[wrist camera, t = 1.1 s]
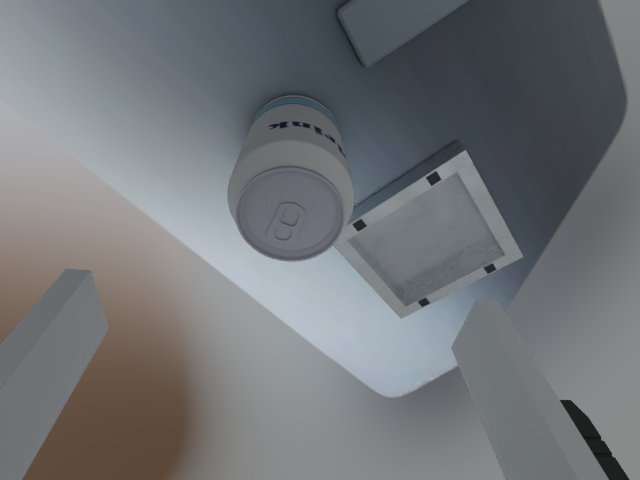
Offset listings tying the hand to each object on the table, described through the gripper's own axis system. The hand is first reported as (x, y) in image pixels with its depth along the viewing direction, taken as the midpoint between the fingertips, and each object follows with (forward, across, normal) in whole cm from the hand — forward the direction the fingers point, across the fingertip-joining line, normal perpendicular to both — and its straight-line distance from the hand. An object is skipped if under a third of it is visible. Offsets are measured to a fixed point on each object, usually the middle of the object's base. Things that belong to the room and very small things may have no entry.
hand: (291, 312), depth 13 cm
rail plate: (+18, +12, -8) cm, 24 cm away
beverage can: (+19, 0, 0) cm, 19 cm away
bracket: (+19, +7, +10) cm, 23 cm away
